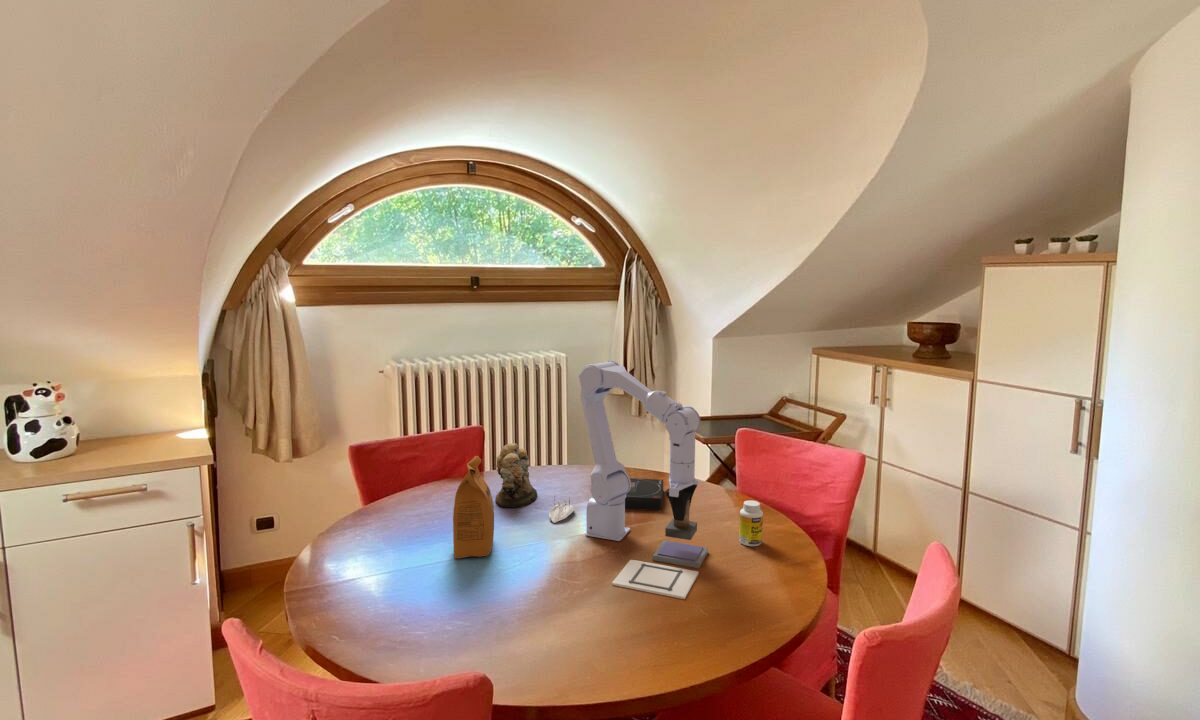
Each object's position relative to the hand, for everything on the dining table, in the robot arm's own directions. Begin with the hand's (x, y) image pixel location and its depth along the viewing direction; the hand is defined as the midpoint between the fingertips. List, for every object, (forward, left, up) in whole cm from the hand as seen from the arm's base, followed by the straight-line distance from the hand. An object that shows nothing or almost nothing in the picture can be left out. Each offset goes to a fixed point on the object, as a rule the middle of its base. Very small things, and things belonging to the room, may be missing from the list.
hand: (681, 516), depth 149 cm
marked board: (-2, -13, -10) cm, 16 cm away
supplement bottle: (+14, +14, -10) cm, 22 cm away
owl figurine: (-55, +19, -10) cm, 59 cm away
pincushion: (-37, +12, -10) cm, 40 cm away
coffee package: (-47, -15, -10) cm, 50 cm away
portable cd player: (-23, +32, -10) cm, 41 cm away
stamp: (0, 0, -4) cm, 4 cm away
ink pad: (0, 0, -10) cm, 10 cm away
